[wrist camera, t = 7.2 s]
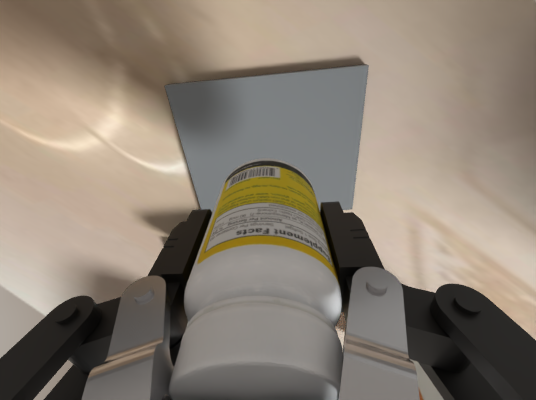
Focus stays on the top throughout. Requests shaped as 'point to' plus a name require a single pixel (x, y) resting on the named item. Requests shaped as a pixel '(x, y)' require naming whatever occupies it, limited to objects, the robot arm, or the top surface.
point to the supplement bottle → (262, 295)
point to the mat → (274, 127)
